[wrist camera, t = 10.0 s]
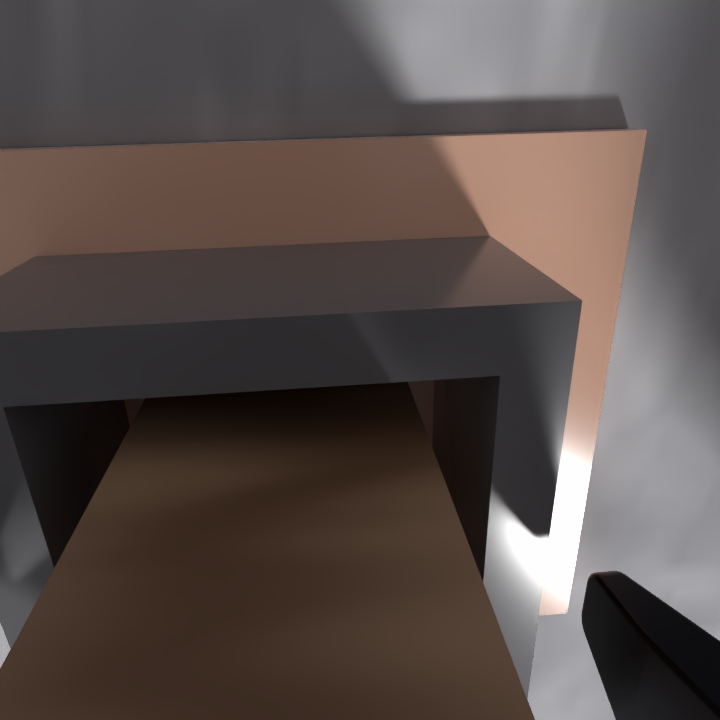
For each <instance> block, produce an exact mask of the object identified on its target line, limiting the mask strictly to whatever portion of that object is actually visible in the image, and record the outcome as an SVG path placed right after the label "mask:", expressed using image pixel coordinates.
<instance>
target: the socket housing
mask: <svg viewBox="0 0 720 720" xmlns="http://www.w3.org/2000/svg"><path fill="white" fill-rule="evenodd" d="M646 134H647V130H642V129H603V130H572V131H541V132H510V133H478V134H447V135H416V136H385V137H354V138H323V139H292V140H261V141H230V142H199V143H168V144H136V145H105V146H74V147H43V148H12V149H0V622H1V625H2V627H3V630H4V632H5V635H6V638H7V640H8V643H9V645H10V648H12V646H13V644H14V642H15V641H16V639H17V637H18V635H19V633H20V631H21V629H22V628H23V626H24V624H25V622H26V620H27V618H28V616H29V615H30V613H31V611H32V609H33V607H34V605H35V603H36V601H37V600H38V598H39V596H40V594H41V592H42V590H43V588H44V587H45V585H46V583H47V581H48V579H49V577H50V575H51V573H52V572H53V570H54V568H55V566H56V564H57V562H58V560H59V559H60V557H61V555H62V553H63V551H64V549H65V547H66V546H67V544H68V542H69V540H70V538H71V536H72V534H73V532H74V531H75V529H76V527H77V525H78V523H79V521H80V519H81V518H82V516H83V514H84V512H85V510H86V508H87V506H88V504H89V503H90V501H91V499H92V497H93V495H94V493H95V491H96V490H97V488H98V486H99V484H100V482H101V480H102V478H103V477H104V475H105V473H106V471H107V469H108V467H109V465H110V463H111V462H112V460H113V458H114V456H115V454H116V452H117V450H118V449H119V447H120V445H121V443H122V441H123V439H124V437H125V435H126V434H127V432H128V430H129V428H130V426H131V424H132V422H133V421H134V419H135V417H136V415H137V413H138V411H139V409H140V408H141V406H142V404H143V402H144V400H145V398H156V397H172V396H188V395H204V394H219V393H235V392H251V391H267V390H283V389H298V388H314V387H330V386H346V385H362V384H377V383H393V382H408V384H409V387H410V390H411V392H412V395H413V398H414V400H415V403H416V406H417V408H418V411H419V414H420V416H421V419H422V422H423V424H424V427H425V429H426V432H427V435H428V437H429V440H430V443H431V445H432V448H433V451H434V453H435V456H436V459H437V461H438V464H439V467H440V469H441V472H442V475H443V477H444V480H445V483H446V485H447V488H448V491H449V493H450V496H451V499H452V501H453V504H454V506H455V509H456V512H457V514H458V517H459V520H460V522H461V525H462V528H463V530H464V533H465V536H466V538H467V541H468V544H469V546H470V549H471V552H472V554H473V557H474V560H475V562H476V565H477V568H478V570H479V573H480V575H481V578H482V581H483V583H484V586H485V589H486V591H487V594H488V597H489V599H490V602H491V605H492V607H493V610H494V613H495V615H496V618H497V621H498V623H499V626H500V629H501V631H502V634H503V637H504V639H505V642H506V645H507V647H508V650H509V652H510V655H511V658H512V660H513V663H514V666H515V668H516V671H517V674H518V676H519V679H520V682H521V684H522V687H523V690H524V692H525V695H526V698H527V697H528V689H529V682H530V675H531V668H532V661H533V653H534V646H535V639H536V632H537V625H538V617H539V616H541V615H551V614H562V613H567V611H568V605H569V599H570V593H571V587H572V581H573V574H574V568H575V562H576V556H577V550H578V544H579V538H580V532H581V526H582V520H583V514H584V508H585V502H586V496H587V490H588V484H589V478H590V472H591V466H592V460H593V454H594V448H595V442H596V436H597V430H598V424H599V418H600V412H601V406H602V400H603V394H604V388H605V381H606V375H607V369H608V363H609V357H610V351H611V345H612V339H613V333H614V327H615V321H616V315H617V309H618V303H619V297H620V291H621V285H622V279H623V273H624V267H625V261H626V255H627V249H628V243H629V237H630V231H631V225H632V219H633V213H634V207H635V201H636V195H637V189H638V182H639V176H640V170H641V164H642V158H643V152H644V146H645V140H646Z"/></svg>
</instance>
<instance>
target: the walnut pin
mask: <svg viewBox="0 0 720 720" xmlns="http://www.w3.org/2000/svg"><path fill="white" fill-rule="evenodd" d="M0 720H535V719H534V716H533V714H532V711H531V708H530V706H529V703H528V700H527V698H526V695H525V692H524V690H523V687H522V684H521V682H520V679H519V676H518V674H517V671H516V668H515V666H514V663H513V660H512V658H511V655H510V652H509V650H508V647H507V645H506V642H505V639H504V637H503V634H502V631H501V629H500V626H499V623H498V621H497V618H496V615H495V613H494V610H493V607H492V605H491V602H490V599H489V597H488V594H487V591H486V589H485V586H484V583H483V581H482V578H481V575H480V573H479V570H478V568H477V565H476V562H475V560H474V557H473V554H472V552H471V549H470V546H469V544H468V541H467V538H466V536H465V533H464V530H463V528H462V525H461V522H460V520H459V517H458V514H457V512H456V509H455V506H454V504H453V501H452V499H451V496H450V493H449V491H448V488H447V485H446V483H445V480H444V477H443V475H442V472H441V469H440V467H439V464H438V461H437V459H436V456H435V453H434V451H433V448H432V445H431V443H430V440H429V437H428V435H427V432H426V429H425V427H424V424H423V422H422V419H421V416H420V414H419V411H418V408H417V406H416V403H415V400H414V398H413V395H412V392H411V390H410V387H409V384H408V382H393V383H377V384H362V385H346V386H330V387H314V388H298V389H283V390H267V391H251V392H235V393H219V394H204V395H188V396H172V397H156V398H145V400H144V402H143V404H142V406H141V408H140V409H139V411H138V413H137V415H136V417H135V419H134V421H133V422H132V424H131V426H130V428H129V430H128V432H127V434H126V435H125V437H124V439H123V441H122V443H121V445H120V447H119V449H118V450H117V452H116V454H115V456H114V458H113V460H112V462H111V463H110V465H109V467H108V469H107V471H106V473H105V475H104V477H103V478H102V480H101V482H100V484H99V486H98V488H97V490H96V491H95V493H94V495H93V497H92V499H91V501H90V503H89V504H88V506H87V508H86V510H85V512H84V514H83V516H82V518H81V519H80V521H79V523H78V525H77V527H76V529H75V531H74V532H73V534H72V536H71V538H70V540H69V542H68V544H67V546H66V547H65V549H64V551H63V553H62V555H61V557H60V559H59V560H58V562H57V564H56V566H55V568H54V570H53V572H52V573H51V575H50V577H49V579H48V581H47V583H46V585H45V587H44V588H43V590H42V592H41V594H40V596H39V598H38V600H37V601H36V603H35V605H34V607H33V609H32V611H31V613H30V615H29V616H28V618H27V620H26V622H25V624H24V626H23V628H22V629H21V631H20V633H19V635H18V637H17V639H16V641H15V642H14V644H13V646H12V648H11V650H10V652H9V654H8V656H7V657H6V659H5V661H4V663H3V665H2V667H1V669H0Z"/></svg>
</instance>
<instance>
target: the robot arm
mask: <svg viewBox="0 0 720 720" xmlns="http://www.w3.org/2000/svg"><path fill="white" fill-rule="evenodd" d="M582 625H583V630H584V633H585V636H586V638H587V641H588V644H589V647H590V649H591V652H592V655H593V658H594V660H595V663H596V666H597V669H598V672H599V674H600V677H601V680H602V683H603V685H604V688H605V691H606V694H607V696H608V699H609V702H610V705H611V708H612V710H613V713H614V716H615V719H616V720H720V641H719V640H718V639H716V638H715V637H713V636H712V635H710V634H709V633H708V632H706V631H705V630H703V629H702V628H701V627H699V626H698V625H696V624H695V623H693V622H692V621H691V620H689V619H688V618H686V617H685V616H683V615H682V614H681V613H679V612H678V611H676V610H675V609H673V608H672V607H671V606H669V605H668V604H666V603H665V602H663V601H662V600H661V599H659V598H658V597H656V596H655V595H653V594H652V593H651V592H649V591H648V590H646V589H645V588H643V587H642V586H641V585H639V584H638V583H636V582H635V581H633V580H632V579H631V578H629V577H628V576H626V575H625V574H623V573H621V572H618V571H608V572H596V573H593V574H591V575H590V576H589V578H588V581H587V587H586V592H585V598H584V603H583V609H582Z"/></svg>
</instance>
